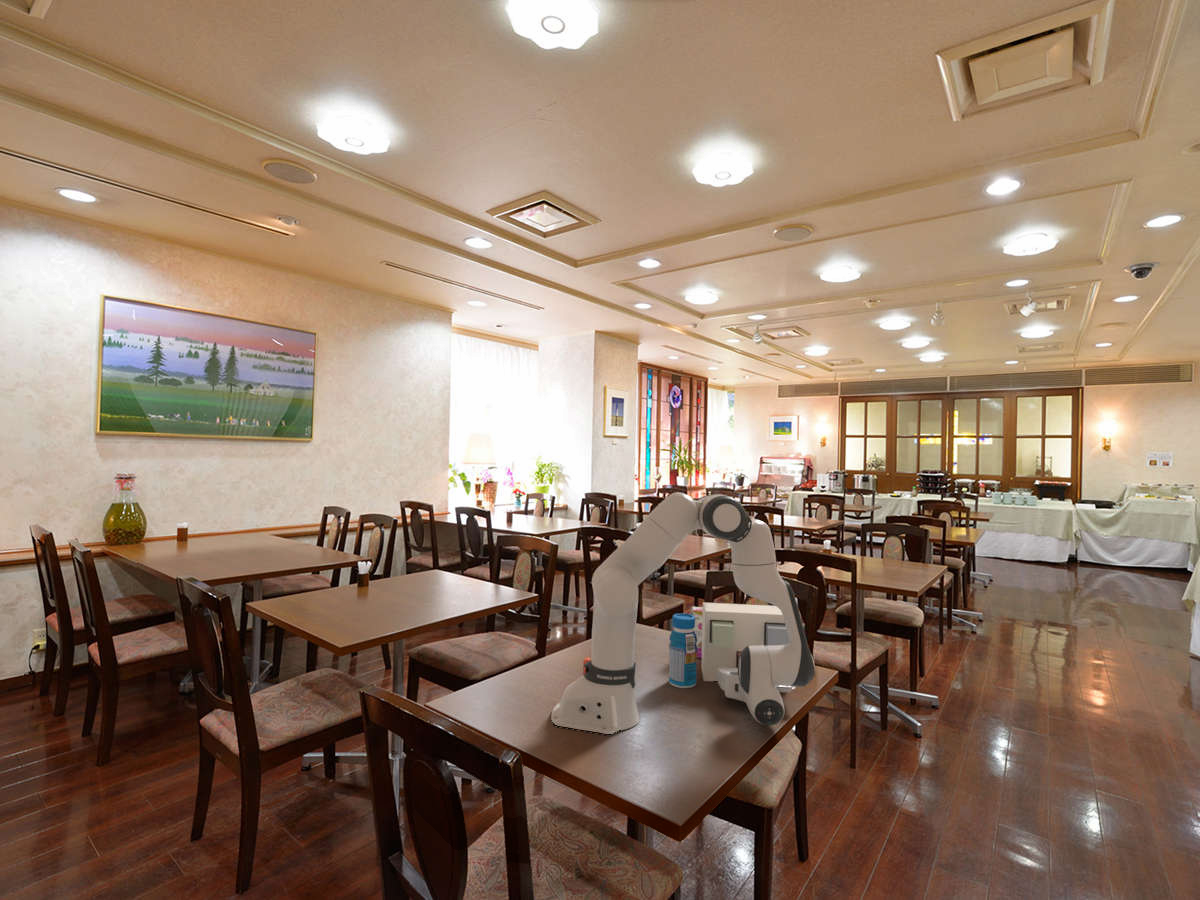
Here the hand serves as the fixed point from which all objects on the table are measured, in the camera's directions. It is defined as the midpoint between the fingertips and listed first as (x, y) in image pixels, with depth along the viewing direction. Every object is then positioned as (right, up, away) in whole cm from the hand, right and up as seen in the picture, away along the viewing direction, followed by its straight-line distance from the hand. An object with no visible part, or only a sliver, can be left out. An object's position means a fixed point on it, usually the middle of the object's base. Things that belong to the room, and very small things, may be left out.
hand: (750, 668), depth 170 cm
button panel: (+1, -6, +9) cm, 11 cm away
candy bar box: (-8, -6, +26) cm, 28 cm away
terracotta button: (+1, -3, +6) cm, 6 cm away
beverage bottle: (-19, -6, +3) cm, 20 cm away
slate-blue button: (+9, +6, +3) cm, 11 cm away
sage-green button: (-7, +6, +4) cm, 10 cm away
